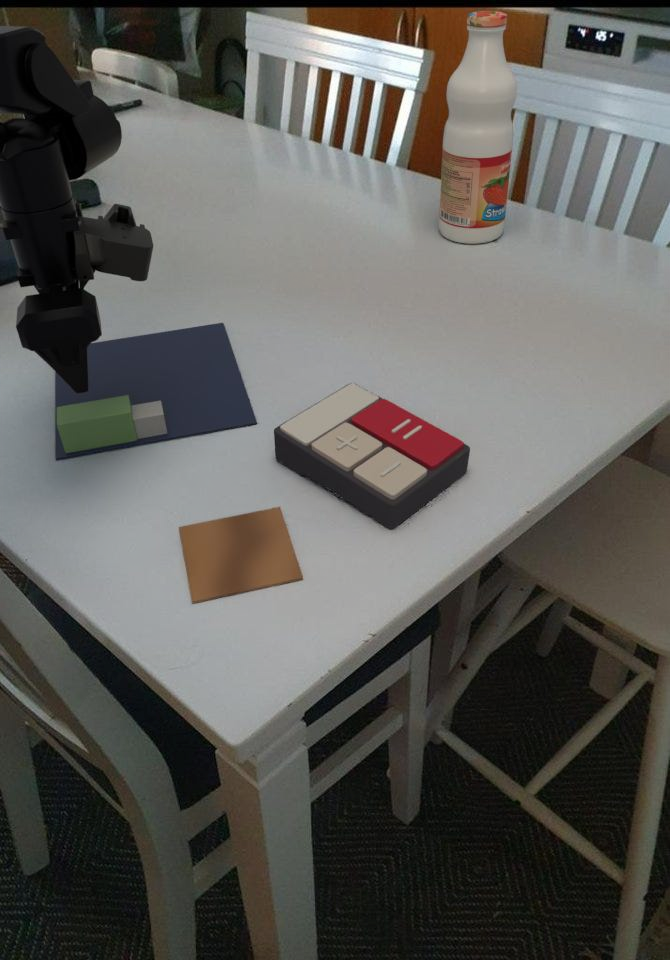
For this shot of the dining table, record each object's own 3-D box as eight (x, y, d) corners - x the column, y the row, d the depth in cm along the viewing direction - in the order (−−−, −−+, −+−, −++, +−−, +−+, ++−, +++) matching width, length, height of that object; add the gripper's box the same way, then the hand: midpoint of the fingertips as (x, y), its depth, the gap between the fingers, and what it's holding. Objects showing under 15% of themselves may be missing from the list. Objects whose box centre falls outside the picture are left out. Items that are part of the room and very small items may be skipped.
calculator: (393, 500, 67) (271, 422, 75) (391, 536, 70) (273, 458, 78) (473, 440, 73) (352, 374, 81) (468, 476, 76) (351, 409, 84)
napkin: (55, 460, 79) (55, 458, 79) (55, 350, 95) (55, 348, 95) (257, 424, 83) (256, 421, 82) (223, 324, 99) (223, 322, 99)
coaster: (192, 603, 64) (191, 601, 64) (179, 529, 71) (178, 526, 70) (303, 579, 66) (302, 577, 65) (280, 509, 72) (279, 506, 72)
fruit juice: (443, 217, 123) (455, 6, 105) (506, 222, 121) (529, 7, 103) (433, 242, 116) (443, 21, 98) (499, 247, 114) (522, 22, 96)
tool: (65, 454, 79) (56, 424, 77) (65, 435, 82) (56, 406, 79) (167, 435, 81) (162, 406, 79) (164, 418, 83) (158, 389, 81)
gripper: (146, 229, 60) (178, 404, 70) (129, 154, 74) (158, 308, 84) (-10, 250, 58) (46, 427, 68) (3, 168, 72) (48, 325, 82)
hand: (81, 366), depth 76 cm, fingers open, 9 cm apart
